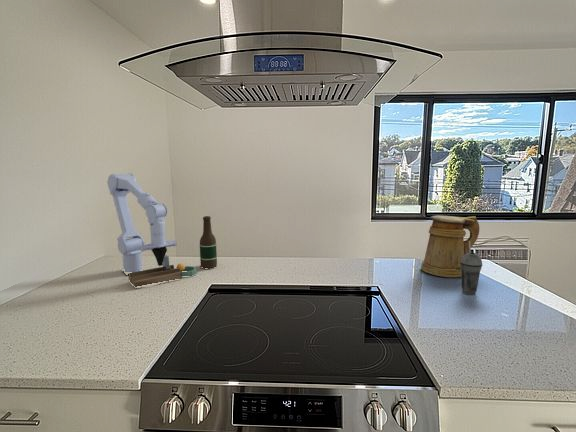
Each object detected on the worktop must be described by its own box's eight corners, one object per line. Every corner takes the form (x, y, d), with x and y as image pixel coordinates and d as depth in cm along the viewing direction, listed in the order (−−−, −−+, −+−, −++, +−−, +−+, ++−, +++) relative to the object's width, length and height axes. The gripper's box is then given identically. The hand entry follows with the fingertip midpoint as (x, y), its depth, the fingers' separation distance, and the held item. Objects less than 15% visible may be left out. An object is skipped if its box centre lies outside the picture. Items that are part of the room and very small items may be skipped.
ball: (174, 265, 152) (181, 260, 153) (177, 271, 153) (184, 267, 155) (176, 267, 149) (184, 262, 151) (180, 273, 150) (187, 269, 152)
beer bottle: (197, 268, 162) (194, 217, 158) (205, 263, 169) (203, 214, 165) (212, 270, 160) (210, 218, 156) (220, 265, 167) (218, 215, 163)
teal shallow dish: (173, 274, 154) (173, 268, 154) (191, 270, 159) (191, 265, 159) (180, 279, 148) (180, 273, 148) (199, 275, 153) (198, 269, 153)
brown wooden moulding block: (129, 282, 144) (128, 272, 143) (172, 273, 155) (171, 263, 154) (135, 289, 136) (134, 278, 136) (180, 279, 147) (180, 269, 146)
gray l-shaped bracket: (163, 270, 149) (162, 255, 148) (167, 269, 150) (166, 254, 149) (166, 272, 146) (165, 257, 145) (170, 271, 147) (170, 256, 146)
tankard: (414, 265, 165) (417, 213, 161) (464, 265, 165) (468, 212, 161) (430, 278, 147) (434, 220, 143) (486, 278, 147) (491, 219, 143)
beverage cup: (482, 297, 126) (487, 243, 123) (460, 296, 128) (465, 243, 125) (476, 290, 133) (480, 239, 130) (455, 289, 135) (459, 238, 132)
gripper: (142, 237, 136) (144, 270, 139) (178, 232, 145) (180, 264, 147) (137, 234, 142) (139, 266, 144) (172, 229, 151) (174, 260, 153)
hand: (160, 265), depth 146 cm, fingers closed
